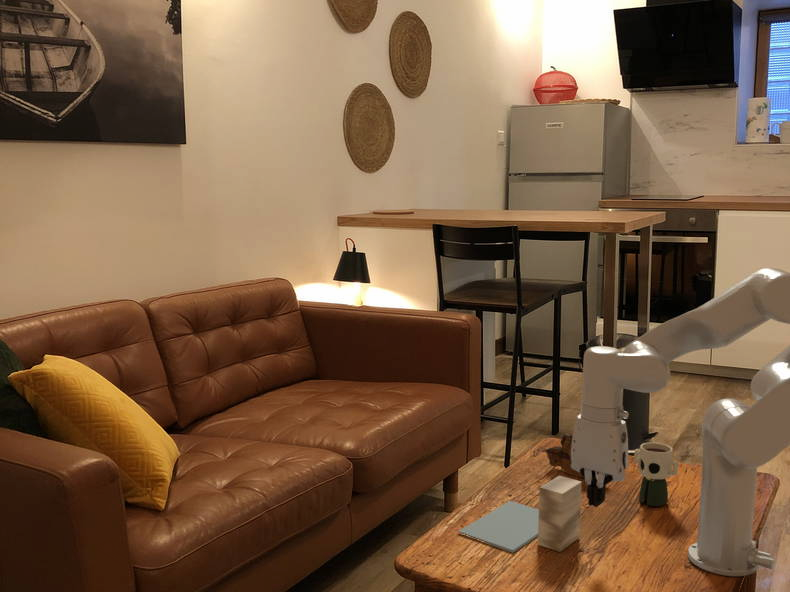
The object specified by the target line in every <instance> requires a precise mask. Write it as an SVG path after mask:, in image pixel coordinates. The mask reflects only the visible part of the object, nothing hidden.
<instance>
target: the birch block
mask: <svg viewBox="0 0 790 592" xmlns="http://www.w3.org/2000/svg"><path fill="white" fill-rule="evenodd" d="M538 492H539V493H538V494H539V496H538V497H539V498H538V499H539V500H538V509H539V520H538V536H537V545H538V546H540V547H544V548H546V549H550V550H553V551H556V552H559V553H561V552H563V551H564V550H565V549H566V548H568V547H570V545H572V544H573V543H574V542H576V541H577V540H579V539H580V529H581V505H582V502H581V501H582V481H580V480H577V479H574V478H573V479H572V478H570V477H566V476H561V475H558V476H556V477H554V478H553V479H551V480H549V481H548V482H546V483H545V484H542V485H541V486H539V491H538Z"/></svg>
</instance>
